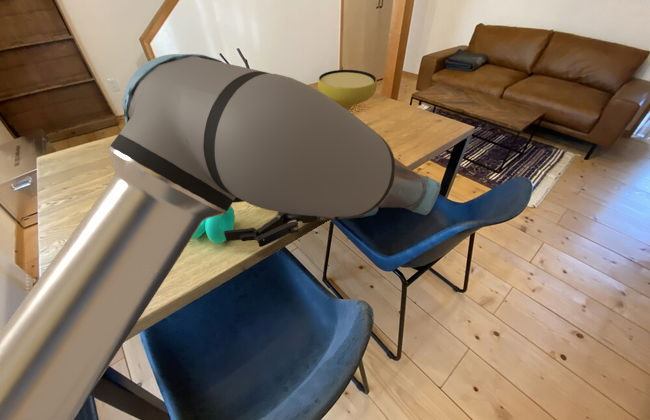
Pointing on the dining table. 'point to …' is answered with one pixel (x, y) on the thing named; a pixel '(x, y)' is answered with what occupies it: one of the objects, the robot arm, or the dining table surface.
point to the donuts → (216, 226)
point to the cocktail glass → (347, 86)
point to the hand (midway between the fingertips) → (228, 215)
